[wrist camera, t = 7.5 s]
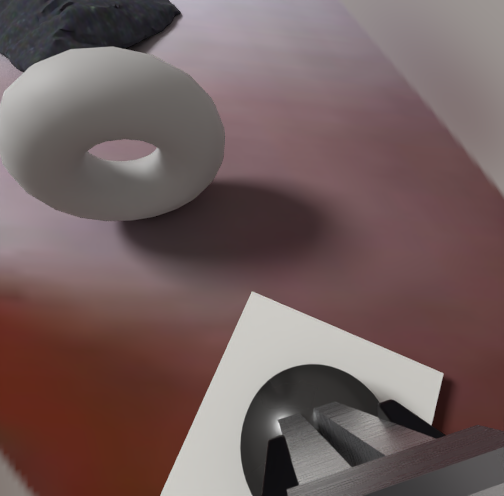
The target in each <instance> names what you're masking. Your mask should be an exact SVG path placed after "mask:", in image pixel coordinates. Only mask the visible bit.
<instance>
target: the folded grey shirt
mask: <svg viewBox="0 0 504 496" xmlns="http://www.w3.org/2000/svg"><path fill="white" fill-rule="evenodd" d="M178 14H180V11H179V10H178V9H177V8H176V7H175V5H173V4H171V2H170V1H169V0H0V53H1V54H2V55H4V56H5V57H7V58H9V60H10V61H11V63H12V64H13V65H14V66H15V67H16V68H17V69H18V70H20V71H22V72H25V71H26V70H27V69H28V68H29V67H30V66H32V65H33V64H35V63H37V62H40V61H42V60H45V59H47V58H50V57H52V56H55V55H57V54H60V53H62V52H65V51H68V50H70V49H82V48H97V47H118V48H125V47H130V46H132V45H134V44H136V43H138V42H140V41H141V40H143V39H146V38H148V37H149V36H151V35H153V34H156V33H159V32H161V31H162V30H164V28H165V26H167V25H169V24H170V23H171V22H172V19H173V17H174V16H175V15H178Z"/></svg>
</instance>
